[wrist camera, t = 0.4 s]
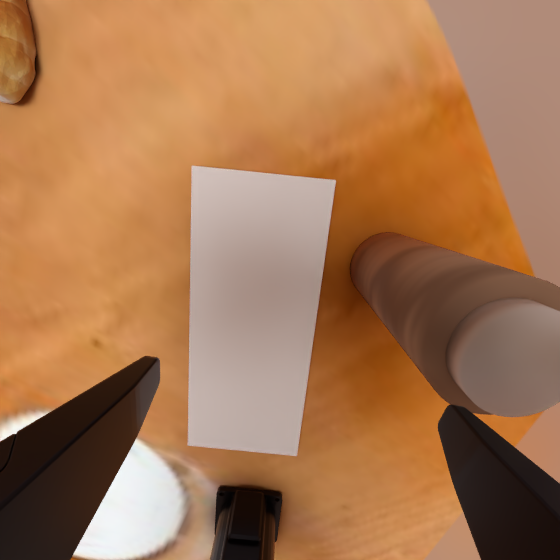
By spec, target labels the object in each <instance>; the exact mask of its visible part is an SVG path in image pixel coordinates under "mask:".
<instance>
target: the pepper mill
mask: <svg viewBox="0 0 560 560" xmlns="http://www.w3.org/2000/svg"><path fill="white" fill-rule="evenodd" d="M350 274H351V279H352V282H353V284H354V285H355V287H356V288H357V290H358V291H359V292H360V294H361V295H362V296H363V298H364V299H365V300H366V301H367V303H368V304H369V305H370V307H371V308H372V309H373V311H374V312H375V313H376V314H377V316H378V317H379V318H380V320H381V321H382V322H383V323H384V325H385V326H386V327H387V329H388V330H389V331H390V333H391V334H392V335H393V336H394V338H395V339H396V340H397V342H398V343H399V344H400V346H401V347H402V348H403V349H404V351H405V352H406V353H407V355H408V356H409V357H410V359H411V360H412V361H413V362H414V364H415V365H416V366H417V368H418V369H419V370H420V371H421V373H422V374H423V375H424V377H425V378H426V379H427V381H428V382H429V383H430V384H431V386H432V387H433V388H434V390H435V391H436V392H437V393H438V394H439V395H440V396H441V397H442V398H443V399H444V400H445V401H447V402H448V403H449V404H452V405H459V406H463V407H465V408H466V409H468V410H469V411H470V412H471V413H477V414H488V415H492V414H495V415H498V416H504V417H522V416H528V415H532V414H536V413H539V412H541V411H544V410H546V409H548V408H550V407H552V406H554V405H556V404H557V403H559V402H560V288H559V287H558V286H556V285H554V284H552V283H550V282H548V281H545V280H542V279H539V278H536V277H532V276H529V275H526V274H523V273H520V272H517V271H514V270H510V269H507V268H504V267H501V266H498V265H495V264H492V263H488V262H485V261H482V260H479V259H476V258H473V257H470V256H467V255H463V254H460V253H457V252H454V251H451V250H448V249H445V248H441V247H438V246H435V245H432V244H429V243H426V242H423V241H419V240H416V239H413V238H410V237H407V236H404V235H401V234H397V233H391V232H386V233H380V234H376V235H374V236H372V237H370V238H368V239H367V240H365V241H364V242H363V243H362V244H361V245H360V246H359V247H358V248H357V250H356V251H355V253H354V255H353V257H352V260H351V264H350Z"/></svg>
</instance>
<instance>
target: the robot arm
mask: <svg viewBox="0 0 560 560" xmlns="http://www.w3.org/2000/svg"><path fill="white" fill-rule="evenodd" d="M159 382H160V360H159V358H157V357H151V356H144V357H142V358H140V359H139V360H137V361H135V362H134V363H132V364H130V365H129V366H127V367H125V368H124V369H122V370H120V371H119V372H117V373H115V374H114V375H112V376H110V377H108V378H107V379H105V380H103V381H102V382H100V383H98V384H97V385H95V386H93V387H92V388H90V389H88V390H87V391H85V392H83V393H82V394H80V395H78V396H77V397H75V398H73V399H71V400H70V401H68V402H66V403H65V404H63V405H61V406H60V407H58V408H56V409H55V410H53V411H51V412H50V413H48V414H46V415H45V416H43V417H41V418H40V419H38V420H36V421H34V422H33V423H31V424H29V425H28V426H26V427H24V428H23V429H21V430H19V431H18V432H17V434H12V435H11V436H9V437H7V438H6V439H4V440H2V441H1V442H0V560H70V559H71V557H72V555H73V553H74V552H75V550H76V548H77V546H78V544H79V542H80V541H81V539H82V537H83V535H84V533H85V531H86V530H87V528H88V526H89V524H90V522H91V520H92V519H93V517H94V515H95V513H96V511H97V509H98V508H99V506H100V504H101V502H102V500H103V498H104V496H105V495H106V493H107V491H108V489H109V487H110V485H111V484H112V482H113V480H114V478H115V476H116V474H117V473H118V471H119V469H120V467H121V465H122V463H123V462H124V460H125V458H126V456H127V454H128V452H129V451H130V449H131V447H132V445H133V443H134V441H135V439H136V437H137V435H138V433H139V431H140V429H141V426H142V424H143V422H144V419H145V417H146V414H147V412H148V410H149V407H150V405H151V402H152V400H153V398H154V395H155V393H156V390H157V388H158V386H159ZM438 431H439V435H440V439H441V442H442V446H443V450H444V453H445V457H446V461H447V464H448V468H449V472H450V475H451V479H452V482H453V485H454V488H455V491H456V494H457V496H458V499H459V502H460V504H461V507H462V510H463V512H464V515H465V518H466V520H467V523H468V526H469V528H470V531H471V534H472V537H473V539H474V542H475V545H476V547H477V550H478V552H479V555H480V558H481V560H560V484H559V483H558V482H557V481H556V480H554V479H553V478H552V477H551V476H549V475H548V474H547V473H546V472H545V471H543V470H542V469H541V468H540V467H538V466H537V465H536V464H535V463H533V462H532V461H531V460H530V459H528V458H527V457H526V456H525V455H523V454H522V453H521V452H519V450H517V449H516V448H515V447H514V446H512V445H511V444H510V443H509V442H507V441H506V440H505V439H504V438H502V437H501V436H500V435H499V434H497V433H496V432H495V431H494V430H493V429H491V428H490V427H489V426H488V425H486V424H485V423H484V422H483V421H481V420H480V419H479V418H478V417H476V416H475V415H474V414H473V413H471V412H470V411H469V410H468V409H466V408H465V407H463V406H459V405H452V404H451V405H449V406H447V408H446V410H445V411H444V413H443V415H442V417H441V418H440V420H439V423H438ZM281 504H282V494H281V493H279V492H272V491H262V490H251V489H241V488H231V487H219V488H218V491H217V499H216V519H215V538H214V543H213V548H212V552H211V557H210V560H274V547H275V542H276V541H277V535H278V527H279V520H280V512H281Z"/></svg>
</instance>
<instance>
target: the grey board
mask: <svg viewBox="0 0 560 560" xmlns="http://www.w3.org/2000/svg"><path fill="white" fill-rule="evenodd" d="M335 184H336V180H329V179H319V178H310V177H300V176H290V175H280V174H270V173H260V172H251V171H241V170H231V169H221V168H211V167H201V166H192V188H191V258H190V328H189V398H188V446H199V447H209V448H219V449H229V450H240V451H250V452H260V453H270V454H281V455H291V456H297V452H298V445H299V438H300V430H301V423H302V416H303V409H304V402H305V395H306V388H307V381H308V374H309V367H310V360H311V353H312V346H313V339H314V332H315V325H316V318H317V311H318V303H319V296H320V289H321V282H322V275H323V268H324V261H325V254H326V247H327V240H328V233H329V226H330V219H331V212H332V205H333V198H334V191H335Z"/></svg>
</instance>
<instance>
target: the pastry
mask: <svg viewBox="0 0 560 560" xmlns="http://www.w3.org/2000/svg"><path fill="white" fill-rule="evenodd" d="M36 55H37V54H36V48H35V42H34V34H33V31H32V23H31V19H30V16H29V11H28V7H27V3H26V0H0V101H1V102H4V103H10V104H14V103H17V102H18V101H20V100H21V98H22V97H23V95H24V94H25V92H26V91H27V90H28V89H29V87H30V86H31V84H32V82H33V80H34V78H35V75H36V72H35V65H34V61H35V56H36Z"/></svg>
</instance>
